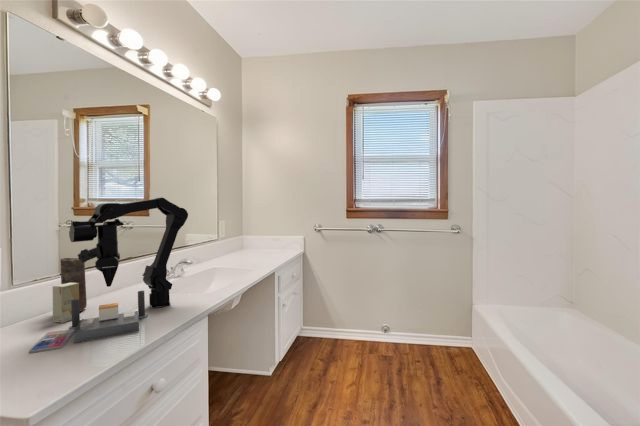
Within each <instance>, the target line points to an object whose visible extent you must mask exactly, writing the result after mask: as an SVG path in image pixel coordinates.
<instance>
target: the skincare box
mask: <svg viewBox="0 0 640 426" xmlns="http://www.w3.org/2000/svg"><path fill="white" fill-rule="evenodd" d="M74 299H79V283H66V284H61V283H60V284H58V285H53V286H52V323H61V324H62V323H66V322H69V321H72V308H71V300H74Z"/></svg>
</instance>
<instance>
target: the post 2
mask: <svg viewBox="0 0 640 426" xmlns="http://www.w3.org/2000/svg"><path fill="white" fill-rule="evenodd" d="M145 303H146V300H145V290H138V291H137V307H138V308H137V311H138V318H139V320H141V319H142V320H143V319H145V318H148V317H149V315H148V313H146V308H145V307H146V306H145V305H146V304H145Z"/></svg>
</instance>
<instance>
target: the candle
mask: <svg viewBox="0 0 640 426" xmlns="http://www.w3.org/2000/svg"><path fill="white" fill-rule="evenodd" d="M78 258H79V257H78ZM78 258H77V257H64V258H60V285H61V284H66V283H79V311H80V312H81V311H83V310H84V309H86V308H87V305H88V304H87V287H86V284H87V283H86V265H85V263H86V262H84V263H81V261H80V259H78Z"/></svg>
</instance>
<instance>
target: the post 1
mask: <svg viewBox="0 0 640 426" xmlns="http://www.w3.org/2000/svg"><path fill="white" fill-rule="evenodd" d="M71 308H72V320H71V325H70V326H68V330H69V329H76V327H77V324H78V322H79V320H81V319H80V318H81V317H80V312H81V311H79V299H74V300H71Z"/></svg>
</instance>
